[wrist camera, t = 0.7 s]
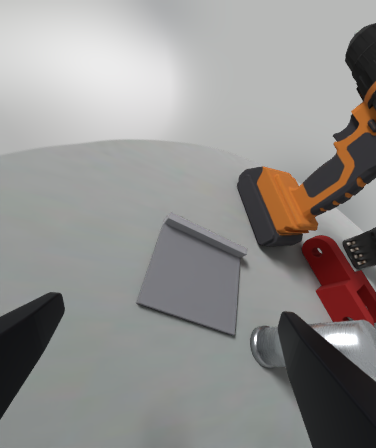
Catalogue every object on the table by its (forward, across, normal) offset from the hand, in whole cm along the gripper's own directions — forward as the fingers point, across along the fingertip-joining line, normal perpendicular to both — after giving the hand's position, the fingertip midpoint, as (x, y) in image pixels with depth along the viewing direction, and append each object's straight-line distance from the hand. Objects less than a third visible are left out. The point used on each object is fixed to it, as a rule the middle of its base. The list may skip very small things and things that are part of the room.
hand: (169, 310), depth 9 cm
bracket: (+15, -1, +9) cm, 18 cm away
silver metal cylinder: (+13, -10, +17) cm, 24 cm away
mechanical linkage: (+26, -24, +16) cm, 39 cm away
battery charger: (+36, -34, +15) cm, 52 cm away
